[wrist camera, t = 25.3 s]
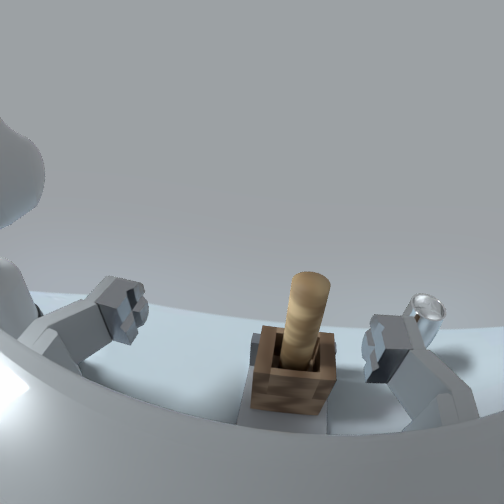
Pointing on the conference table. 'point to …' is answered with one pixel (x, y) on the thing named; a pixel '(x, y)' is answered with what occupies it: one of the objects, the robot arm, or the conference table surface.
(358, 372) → the conference table surface
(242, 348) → the conference table surface
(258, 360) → the socket block
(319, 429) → the rail base
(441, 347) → the conference table surface
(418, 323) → the beer glass
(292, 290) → the dowel
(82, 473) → the robot arm
